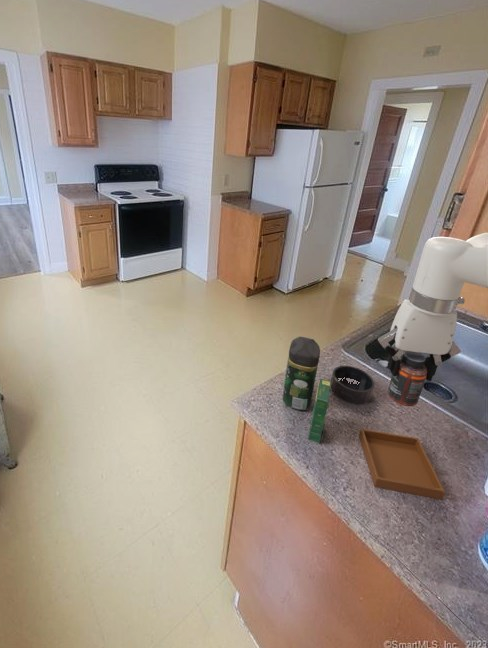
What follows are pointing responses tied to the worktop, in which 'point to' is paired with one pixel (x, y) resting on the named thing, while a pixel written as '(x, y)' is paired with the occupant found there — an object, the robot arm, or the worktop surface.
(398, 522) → the worktop surface
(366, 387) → the bowl
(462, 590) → the worktop surface
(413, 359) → the supplement bottle
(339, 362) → the worktop surface
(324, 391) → the coffee box
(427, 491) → the tray
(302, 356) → the coffee jar
